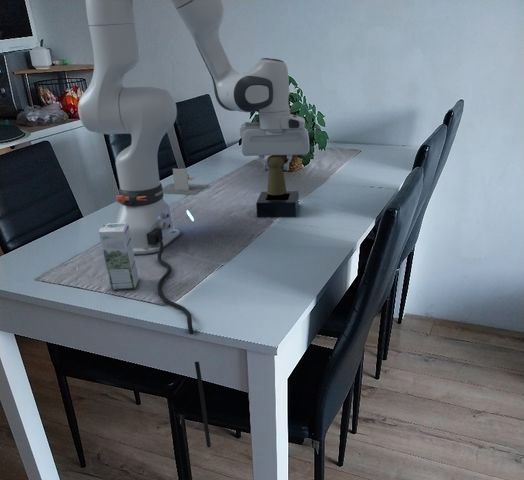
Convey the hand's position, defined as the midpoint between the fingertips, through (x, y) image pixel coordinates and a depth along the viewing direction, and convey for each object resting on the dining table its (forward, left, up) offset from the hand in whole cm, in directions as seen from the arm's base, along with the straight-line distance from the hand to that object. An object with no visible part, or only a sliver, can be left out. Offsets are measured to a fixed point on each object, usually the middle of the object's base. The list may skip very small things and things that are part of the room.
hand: (276, 170), depth 164 cm
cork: (0, 0, -7) cm, 7 cm away
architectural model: (+27, +38, -13) cm, 48 cm away
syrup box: (-55, +31, -13) cm, 64 cm away
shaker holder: (0, 0, -13) cm, 13 cm away
